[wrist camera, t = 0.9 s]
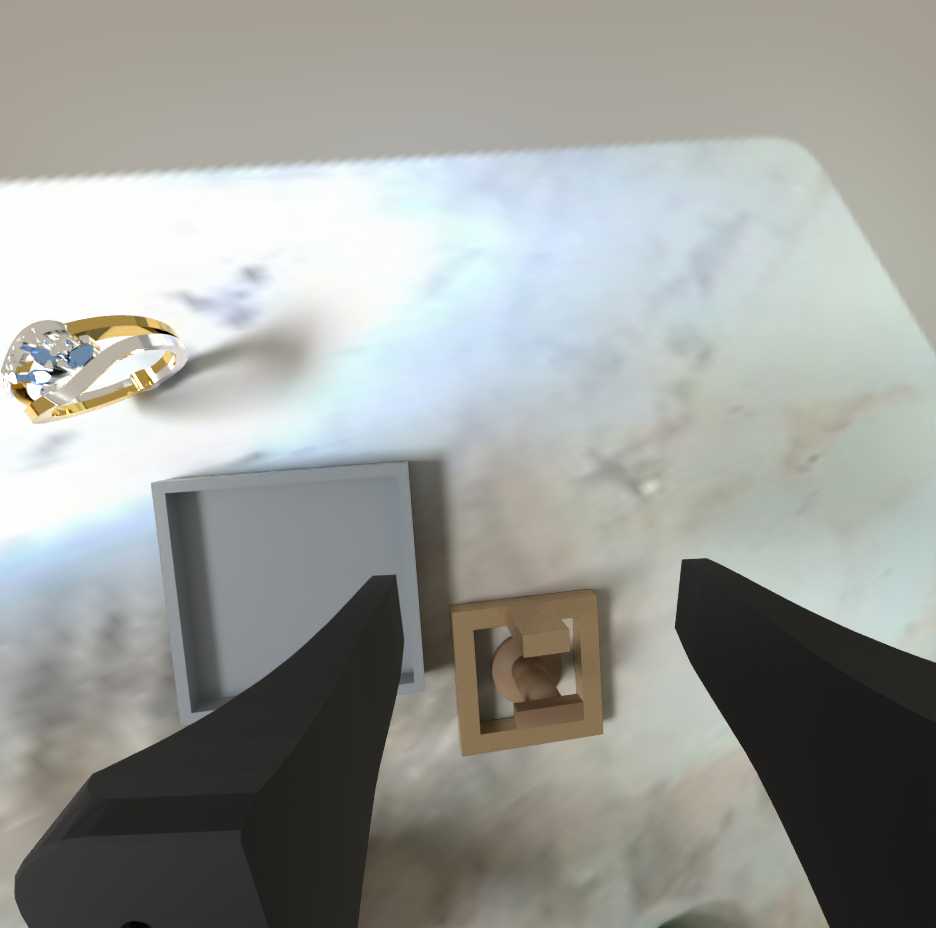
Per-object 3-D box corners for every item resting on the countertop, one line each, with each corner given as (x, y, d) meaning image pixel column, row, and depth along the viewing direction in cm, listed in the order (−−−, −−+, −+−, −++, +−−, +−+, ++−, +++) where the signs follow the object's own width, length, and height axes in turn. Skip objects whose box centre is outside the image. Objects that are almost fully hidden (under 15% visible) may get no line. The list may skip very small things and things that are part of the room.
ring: (194, 326, 26) (102, 281, 18) (224, 379, 26) (147, 357, 18) (73, 383, 25) (-78, 362, 17) (106, 437, 26) (-27, 439, 18)
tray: (424, 673, 29) (425, 691, 27) (197, 704, 27) (180, 725, 25) (407, 460, 28) (407, 463, 26) (170, 478, 26) (150, 482, 24)
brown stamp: (560, 693, 30) (592, 749, 25) (493, 703, 30) (512, 762, 24) (556, 628, 30) (589, 670, 25) (489, 636, 29) (507, 681, 24)
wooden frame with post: (595, 722, 31) (634, 781, 26) (459, 743, 30) (471, 809, 24) (589, 589, 30) (627, 621, 25) (449, 605, 29) (460, 643, 24)
